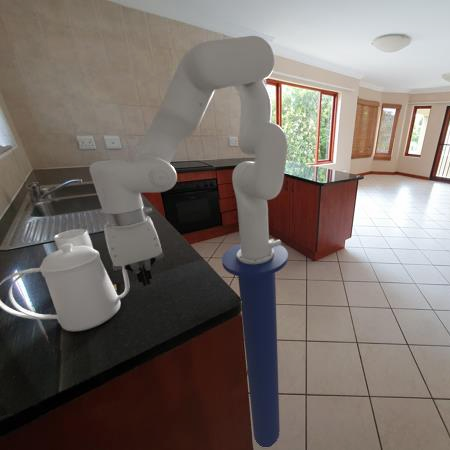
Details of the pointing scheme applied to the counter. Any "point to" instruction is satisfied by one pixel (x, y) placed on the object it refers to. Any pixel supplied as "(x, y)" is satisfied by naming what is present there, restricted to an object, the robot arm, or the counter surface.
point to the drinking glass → (73, 238)
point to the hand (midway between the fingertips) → (146, 282)
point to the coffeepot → (74, 288)
